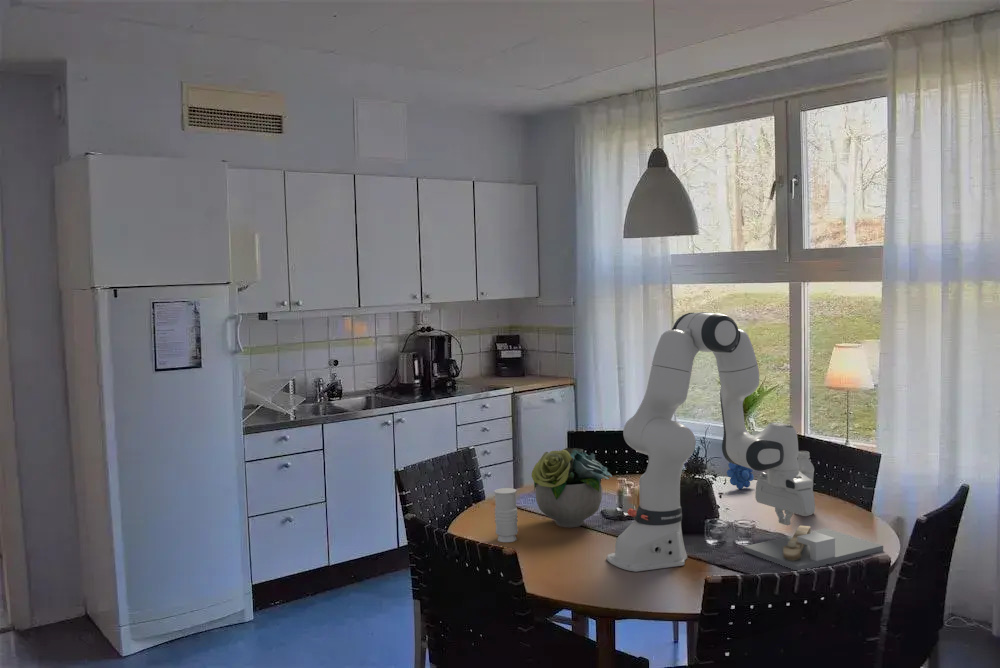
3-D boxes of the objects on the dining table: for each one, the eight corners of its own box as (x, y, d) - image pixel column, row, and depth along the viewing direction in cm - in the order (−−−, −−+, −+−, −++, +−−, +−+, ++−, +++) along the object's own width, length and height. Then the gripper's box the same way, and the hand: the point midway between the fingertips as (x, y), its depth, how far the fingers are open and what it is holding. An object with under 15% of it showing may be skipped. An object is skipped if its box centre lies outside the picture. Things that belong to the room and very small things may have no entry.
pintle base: (798, 572, 220) (797, 547, 220) (744, 551, 238) (743, 528, 238) (883, 550, 235) (883, 527, 234) (826, 533, 252) (825, 511, 252)
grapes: (735, 493, 302) (734, 460, 301) (723, 489, 308) (722, 457, 307) (761, 489, 306) (760, 456, 305) (749, 485, 312) (748, 453, 312)
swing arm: (799, 560, 223) (799, 551, 223) (782, 558, 225) (781, 549, 225) (813, 534, 244) (813, 526, 244) (797, 533, 246) (797, 525, 246)
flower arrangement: (565, 509, 288) (563, 438, 287) (624, 522, 271) (622, 447, 269) (514, 526, 271) (511, 450, 270) (573, 541, 253) (571, 460, 252)
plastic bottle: (813, 516, 270) (812, 454, 269) (791, 514, 273) (790, 453, 272) (817, 511, 275) (816, 450, 274) (795, 509, 279) (794, 449, 278)
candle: (506, 534, 262) (505, 486, 262) (523, 538, 257) (521, 490, 257) (490, 539, 258) (489, 491, 257) (507, 544, 253) (505, 494, 252)
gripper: (749, 472, 256) (751, 517, 257) (801, 485, 238) (802, 534, 238) (765, 469, 259) (766, 514, 260) (817, 482, 240) (819, 530, 241)
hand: (784, 523), depth 249 cm, fingers closed
